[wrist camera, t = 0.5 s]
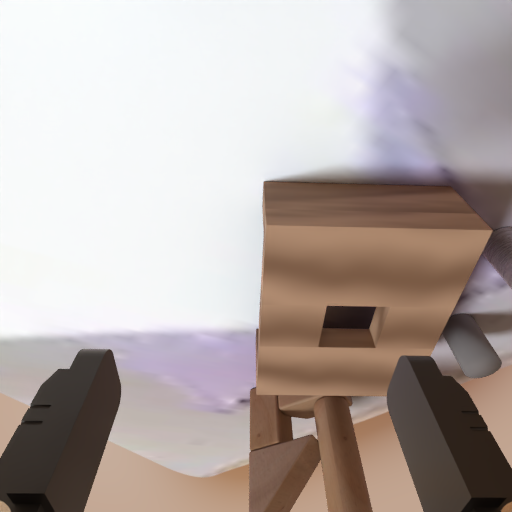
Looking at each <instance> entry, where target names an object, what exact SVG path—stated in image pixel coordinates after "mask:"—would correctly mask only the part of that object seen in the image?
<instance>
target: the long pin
mask: <svg viewBox="0 0 512 512" xmlns="http://www.w3.org/2000/svg"><path fill="white" fill-rule="evenodd" d="M482 254H483V255H484V257H485V258H486V259H487V260H488V261H489V263H490V264H491V265H492V266H493V267H494V269H495V270H496V271H497V272H498V273H499V275H500V276H501V277H502V278H503V279H504V281H505V282H506V283H507V284H508V285H509V286H510V288H511V289H512V227H503V228H499V229H497V230H495V231H493V232H492V233H491V235H490V237H489V239H488V241H487V243H486V245H485V247H484V249H483V251H482Z"/></svg>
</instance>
